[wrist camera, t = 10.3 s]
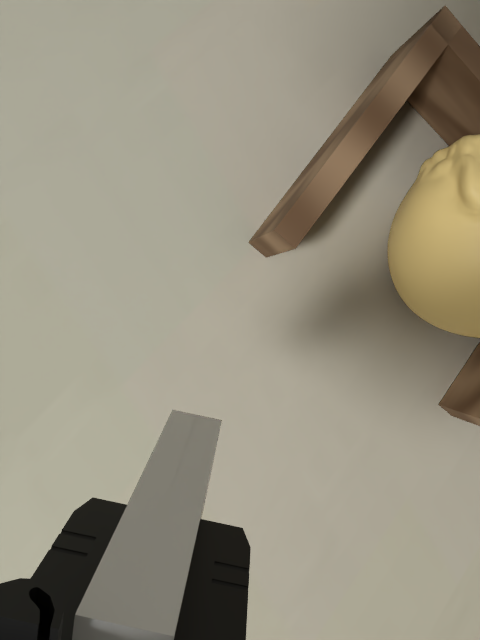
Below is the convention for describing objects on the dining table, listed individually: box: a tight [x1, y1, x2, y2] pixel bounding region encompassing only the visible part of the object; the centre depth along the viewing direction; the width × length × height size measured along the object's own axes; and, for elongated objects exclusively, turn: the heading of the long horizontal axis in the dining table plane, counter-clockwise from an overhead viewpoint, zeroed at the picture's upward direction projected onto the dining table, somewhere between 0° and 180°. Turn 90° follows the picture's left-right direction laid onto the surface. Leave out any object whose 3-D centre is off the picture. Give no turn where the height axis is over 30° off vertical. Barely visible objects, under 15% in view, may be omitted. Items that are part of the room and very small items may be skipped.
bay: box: [249, 6, 480, 426], centre depth 28 cm, size 16×20×5 cm
